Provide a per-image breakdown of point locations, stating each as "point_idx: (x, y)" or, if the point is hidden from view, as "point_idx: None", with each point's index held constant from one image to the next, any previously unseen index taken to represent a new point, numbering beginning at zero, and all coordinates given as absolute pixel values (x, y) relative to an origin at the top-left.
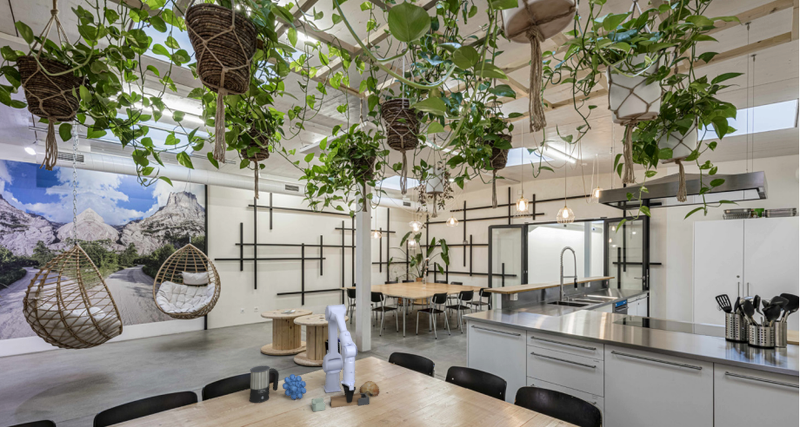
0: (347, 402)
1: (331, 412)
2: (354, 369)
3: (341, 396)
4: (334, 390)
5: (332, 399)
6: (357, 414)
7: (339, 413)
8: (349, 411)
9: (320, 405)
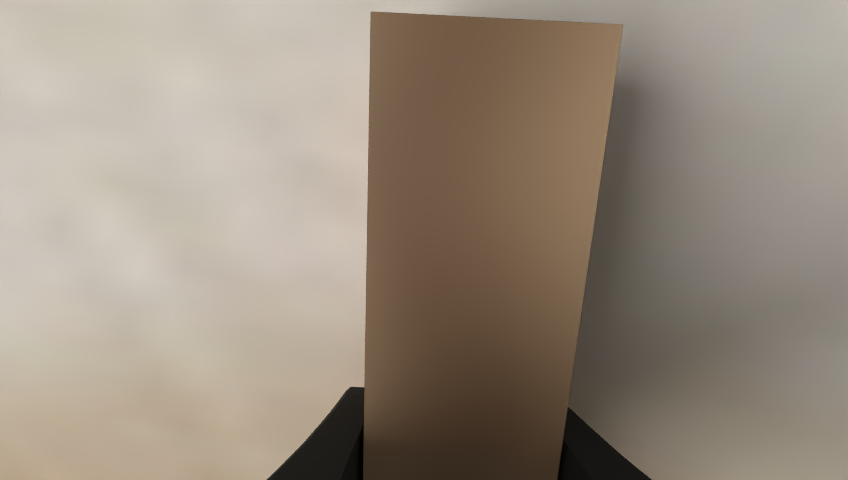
0: (347, 392)
1: (176, 12)
2: None
3: (472, 341)
4: None
5: (371, 44)
6: (5, 426)
7: (97, 159)
8: (145, 340)
9: None
